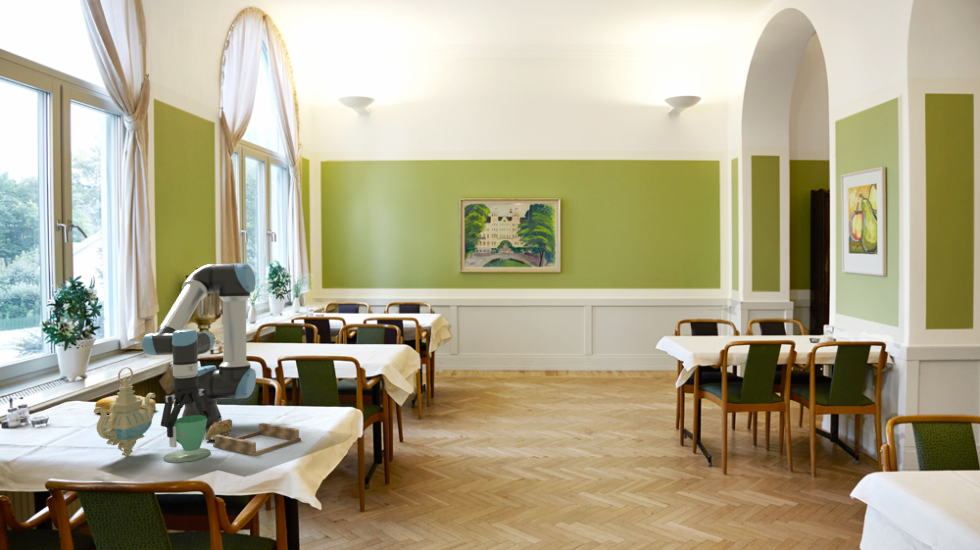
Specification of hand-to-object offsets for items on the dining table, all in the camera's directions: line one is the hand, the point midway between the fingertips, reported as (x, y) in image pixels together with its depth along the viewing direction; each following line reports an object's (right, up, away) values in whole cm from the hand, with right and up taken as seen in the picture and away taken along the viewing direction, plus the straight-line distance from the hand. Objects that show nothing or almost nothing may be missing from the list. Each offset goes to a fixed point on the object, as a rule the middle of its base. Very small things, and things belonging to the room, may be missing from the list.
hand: (187, 442), depth 205 cm
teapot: (-20, -5, +1) cm, 21 cm away
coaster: (0, -4, 0) cm, 4 cm away
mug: (0, -2, 0) cm, 2 cm away
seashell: (+1, -5, +19) cm, 20 cm away
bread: (-57, -5, +62) cm, 84 cm away
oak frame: (+19, -4, +13) cm, 23 cm away
